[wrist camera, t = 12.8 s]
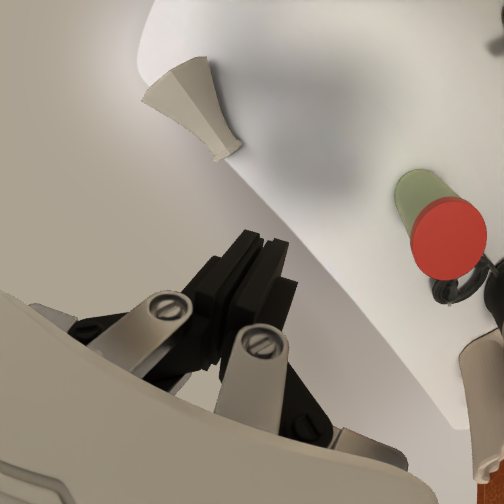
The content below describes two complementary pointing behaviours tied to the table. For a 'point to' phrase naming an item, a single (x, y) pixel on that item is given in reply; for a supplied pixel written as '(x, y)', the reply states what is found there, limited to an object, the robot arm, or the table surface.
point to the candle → (485, 402)
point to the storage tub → (439, 226)
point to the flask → (194, 105)
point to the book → (492, 488)
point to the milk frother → (496, 294)
